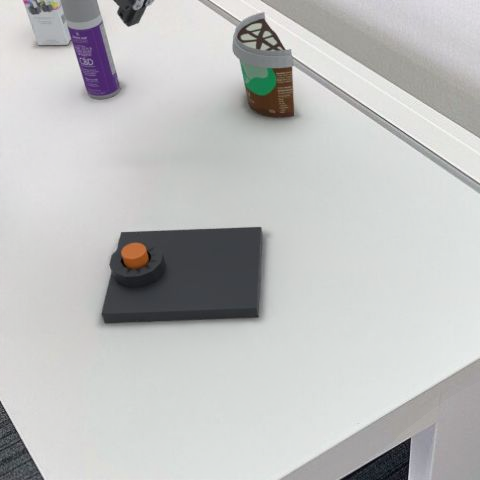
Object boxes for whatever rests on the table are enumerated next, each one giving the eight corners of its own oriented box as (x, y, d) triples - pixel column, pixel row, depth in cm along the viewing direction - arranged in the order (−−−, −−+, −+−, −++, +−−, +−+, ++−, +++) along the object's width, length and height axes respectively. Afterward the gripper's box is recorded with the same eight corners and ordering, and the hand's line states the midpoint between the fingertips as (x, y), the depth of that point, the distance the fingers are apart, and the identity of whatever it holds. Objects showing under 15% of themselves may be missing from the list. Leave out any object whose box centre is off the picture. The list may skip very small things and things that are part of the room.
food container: (229, 87, 110) (219, 18, 103) (270, 78, 112) (263, 10, 104) (254, 131, 103) (245, 60, 95) (297, 121, 104) (292, 51, 96)
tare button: (122, 270, 81) (119, 259, 80) (126, 253, 83) (123, 242, 82) (147, 269, 81) (144, 258, 80) (150, 252, 83) (147, 242, 82)
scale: (104, 323, 79) (96, 303, 77) (123, 241, 88) (117, 220, 86) (258, 317, 80) (255, 296, 77) (262, 235, 88) (260, 215, 86)
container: (87, 101, 108) (54, -6, 97) (87, 84, 111) (56, -22, 100) (120, 96, 109) (92, -10, 97) (120, 80, 112) (92, -26, 101)
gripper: (143, -36, 75) (102, 63, 90) (240, -68, 83) (187, 28, 97) (96, -103, 74) (62, 8, 89) (198, -129, 82) (151, -23, 96)
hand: (128, 18), depth 93 cm, fingers closed
